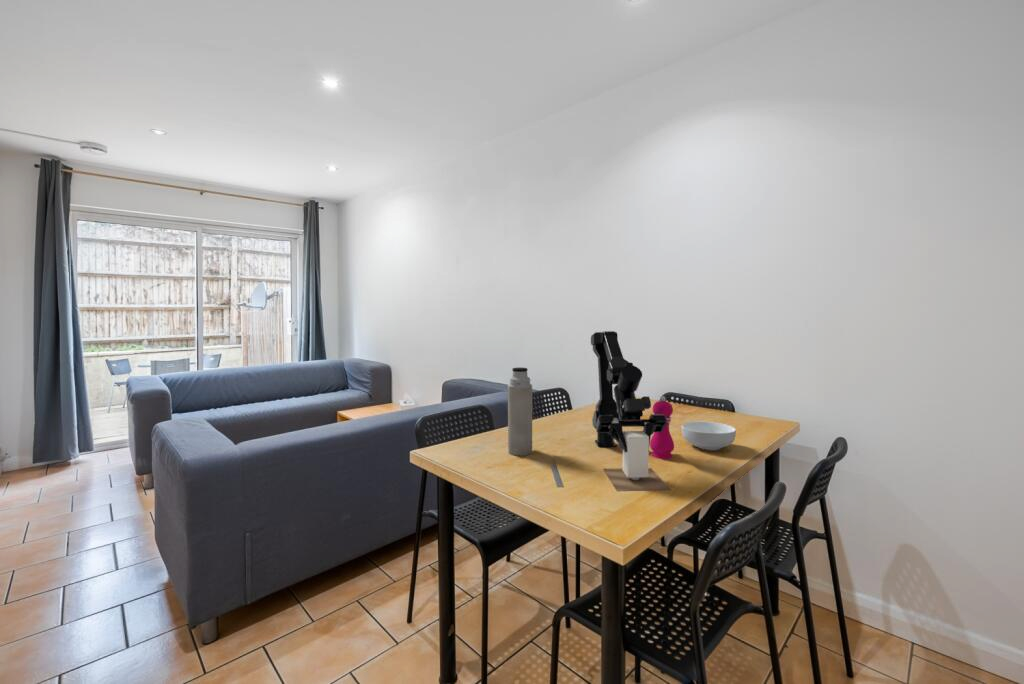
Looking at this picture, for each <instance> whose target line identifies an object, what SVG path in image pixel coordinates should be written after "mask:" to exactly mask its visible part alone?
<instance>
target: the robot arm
mask: <svg viewBox="0 0 1024 684" xmlns="http://www.w3.org/2000/svg"><path fill="white" fill-rule="evenodd" d="M590 345H591V346H592V351H593V353H594V354H595V357H597V364H598V365H597V367H598V368H597V369H598V389H599V400H598V401H597V403H596V405H595V410H594V412H593V415H592V419H591V420H592V427H593V428H594V429H595V430H596V433H597V434H596V435H597V436H596V437H597V438H596V439H594V443H595V445H597V447H598V448H599V447H600V448H602V447H603V448H605V447H608V448H609V447H613V448H614V447H616V448H617V447H618V445H619V446H620V447H621V449H622V451H623V450H624V452H627V446H626V442H625V438H624V435H623V431H624V430H623V428H626V427H627V428H629V427H632V428H633V427H634V428H635V427H637V428H638V427H642V431H643V432H644V433H645V434H647V435H648V436H649V445H650V441H651V438H652V436H653V434H654V432H662V431H663V430H664V428H665V426H666V424H667V418H666V416H665V415H663V414H654V413H653V414H650V416H649V418H647V419H645V418H643V419H642V418H641V417H643V416H644V413H643V412H644V411H646V410H649V409H650V408H651V407H652V403H651V398H650V396H641V398H636V394H635V392H636V391H637V390H638V387H639V385H640V382H641V379H642V378H643V371H641V369H640V368H639V367H637V366H635V365H634V364H633V362H630V361H628V360H626V359H625V358H624V355H623V352H622V350H621V347H620V344H619V341H618V332H617V331H613V330H609V331H608V330H606V331H598V332H597V331H595V332H594V333H593V334H591V336H590ZM613 385H615V386H614V387H613ZM613 394H614V395H613ZM615 441H616V442H617V443H618V444H617V443H616V442H615Z"/></svg>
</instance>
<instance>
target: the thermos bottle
mask: <svg viewBox="0 0 1024 684" xmlns="http://www.w3.org/2000/svg"><path fill="white" fill-rule="evenodd" d="M507 422H508V423H507V442H508V443H507V452H508V454H510V455H512V454H513V455H512V456H518V455H523V456H527V455H528V454H529V455H531V454H532V453H533V384H532V383H531V378H530V377H529V376H528V368H527V367H513V368H512V376H511V377H510V378H509V384H508V385H507Z"/></svg>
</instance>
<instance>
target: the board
mask: <svg viewBox="0 0 1024 684" xmlns="http://www.w3.org/2000/svg"><path fill="white" fill-rule="evenodd" d="M622 469H623V467H622V468H619V467H618V468H602V470H603V472H604V474H606V476H607V478H608V479H609V481H610V482H611V484H612V486H613V487H614V489H615V491H616V492H642V491H643V492H644V491H645V492H649V491H650V492H651V491H652V492H653V491H659V492H660V491H662V492H663V491H672V489H671V488H670V486H668V485H667V484H666V482H665V481H663V479H662V478H661V477H660V476H659V475H658V474H657V473H656V472H655V471H654V470H653V468H652V467H648V477H640V480H632V479H631V478H628V477H627V476H626V474H625V473H624V472H623V470H622Z"/></svg>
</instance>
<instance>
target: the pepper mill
mask: <svg viewBox="0 0 1024 684" xmlns="http://www.w3.org/2000/svg"><path fill="white" fill-rule="evenodd" d="M666 399H667V398H666V396H664V395H662V396H660V397H659V400H658V401H656V402H655V403H654V404H653V406H652V412H653V414H663V415H665V416H666V418H667V424H666V426H665V428H664V430H663V431H662V432H654V433H653V434H652V435H651V437H650V444H649V448H650V449H651V456H652V457H653V458H656V459H659V460H660V459H662V460H669V459H672V458H673V454H672V452H673V451H674V450H675V444H674V440H673V438H672V435H671V431H670V423H671V421H672V420H671V419H672V417H671V415H672V414H673V411H674V407H673V406H672V404H671V402H669V401H666Z"/></svg>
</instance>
